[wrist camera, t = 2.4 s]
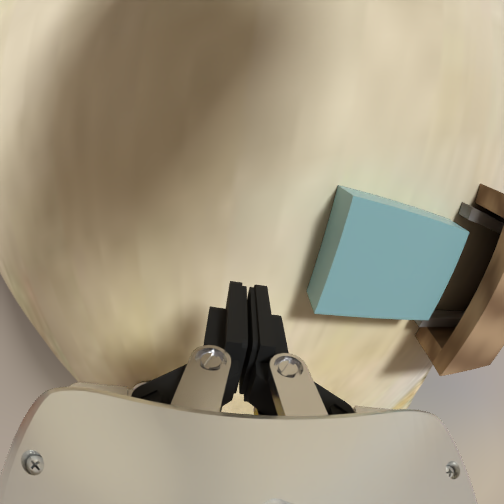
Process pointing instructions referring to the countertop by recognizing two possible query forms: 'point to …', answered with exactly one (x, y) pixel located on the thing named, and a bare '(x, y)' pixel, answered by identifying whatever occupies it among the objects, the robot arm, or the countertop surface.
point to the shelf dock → (471, 306)
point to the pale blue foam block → (383, 259)
